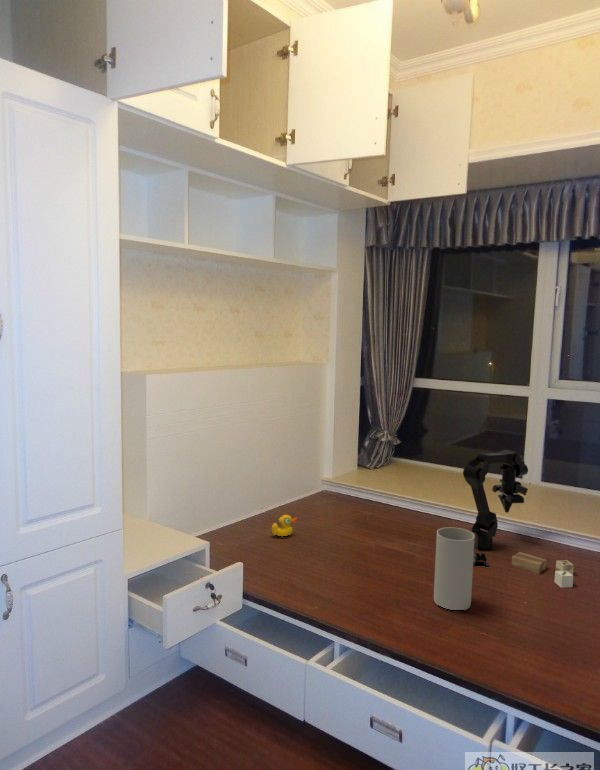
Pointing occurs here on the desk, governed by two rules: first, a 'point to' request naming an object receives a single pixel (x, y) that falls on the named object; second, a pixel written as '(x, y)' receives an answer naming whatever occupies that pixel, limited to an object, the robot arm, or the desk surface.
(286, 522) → the duckling
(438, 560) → the cylinder vase
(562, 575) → the off-white painted block
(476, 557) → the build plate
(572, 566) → the pale birch block
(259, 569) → the desk surface
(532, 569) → the tan wooden block
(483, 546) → the robot arm
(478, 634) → the desk surface
